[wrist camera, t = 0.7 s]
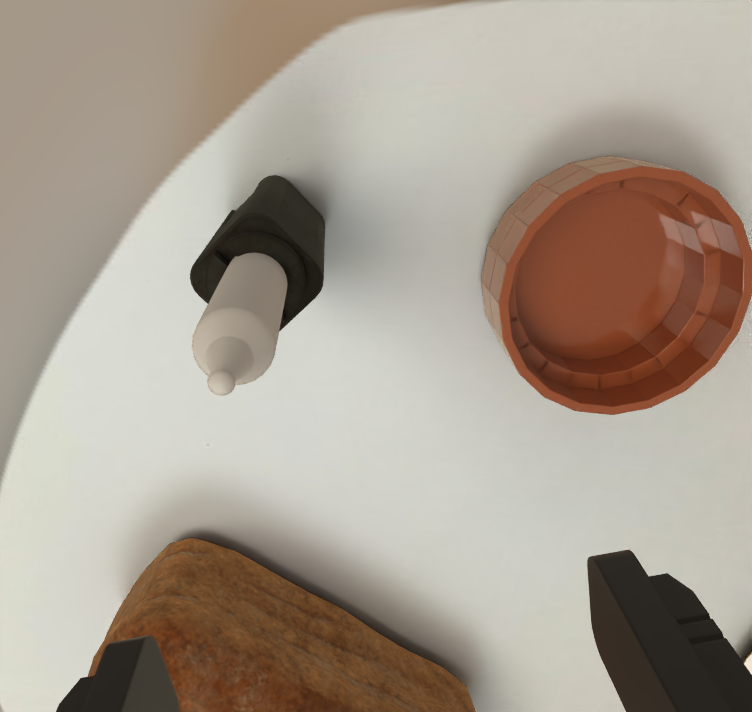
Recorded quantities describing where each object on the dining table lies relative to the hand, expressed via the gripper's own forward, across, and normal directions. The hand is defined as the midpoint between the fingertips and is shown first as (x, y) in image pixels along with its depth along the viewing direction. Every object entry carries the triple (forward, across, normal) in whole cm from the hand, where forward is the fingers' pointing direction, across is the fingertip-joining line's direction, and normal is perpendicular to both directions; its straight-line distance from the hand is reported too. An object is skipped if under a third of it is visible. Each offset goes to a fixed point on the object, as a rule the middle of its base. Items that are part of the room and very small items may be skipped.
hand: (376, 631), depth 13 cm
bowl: (+35, -16, +6) cm, 39 cm away
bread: (+35, +10, +33) cm, 49 cm away
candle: (+35, +4, -1) cm, 35 cm away
